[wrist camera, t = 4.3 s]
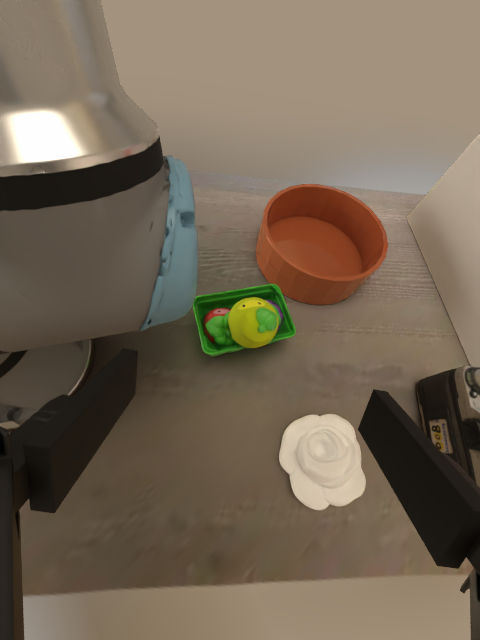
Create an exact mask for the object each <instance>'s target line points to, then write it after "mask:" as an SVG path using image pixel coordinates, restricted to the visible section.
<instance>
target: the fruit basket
mask: <svg viewBox="0 0 480 640" xmlns="http://www.w3.org/2000/svg"><path fill="white" fill-rule="evenodd" d="M193 310H194V314H195V318H196V322H197V327H198V331H199V336H200V341H201V346H202V349H203V351H204V352H205V353H206V354H209V355H211V356H218V355H222V354H224V353H226V352H235V351H240V350H242V349H244V348H247V349H249V348H257V347H261V346H263V345H266V344H271V343H275V342H277V341H280V340H283V339H287V338H290V337H293V336H294V335H295V333H296V329H295V326H294V324H293V321H292V318H291V316H290V313H289V310H288V308H287V305H286V303H285V300H284V298H283V295H282V292H281V290H280V288H279V286H277V285H276V284H267V285H262V286H256V287H250V288H244V289H238V290H232V291H226V292H220V293H214V294H208V295H201V296H197V297H195V300H194V303H193Z"/></svg>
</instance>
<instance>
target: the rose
mask: <svg viewBox="0 0 480 640" xmlns="http://www.w3.org/2000/svg"><path fill="white" fill-rule="evenodd" d="M279 461H280V464H281V466H282V468H283V469H284V470H285V471H286V472H287V473H288V474H289V475H290V482H291V487H292V490H293V493H294V494H295V496H296V497H297V498H298V500H299V501H300V502H302V503H303V504H304V505H305V506H307V507H310V508H312V509H314V510H324V509H325V508H327V507H328V506H329V504H331V505H335V506H344V505H347V504H348V503H350V502H352V501H353V500H354V499H356V498H359V497H360V496H361V495H362V494H363V492H364V489H365V484H366V480H365V476H364V473H363V471H362V468H361V451H360V446H359V443H358V441H357V440H356V434H355V431H354V428H353V427H352V425H351V424H350V423H349V422H348V421H347V420H345V419H343V418H341V417H340V416H338V415H335V414H326V415H322V416H318V415H307V416H304V417H302V418H300V419H297V420H295V421H294V422H292V423H291V424H290V425H289V426H288V427H287V428H286V430H285V432H284V434H283V437H282V442H281V448H280V452H279Z"/></svg>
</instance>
